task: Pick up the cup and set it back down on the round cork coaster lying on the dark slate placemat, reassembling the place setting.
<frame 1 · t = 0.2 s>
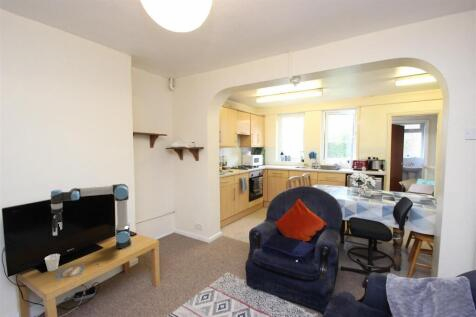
hand: (57, 232, 193), 27 cm above the table, fingers open, 13 cm apart
placemat: (70, 272, 181), on the table
cup: (52, 269, 184), on the table
coaster: (71, 272, 180), resting on placemat
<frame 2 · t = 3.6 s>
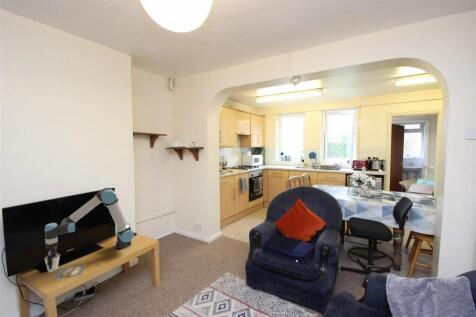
hand: (52, 269, 184), 0 cm above the table, fingers closed on cup, 8 cm apart
cup: (52, 269, 184), on the table, touching gripper
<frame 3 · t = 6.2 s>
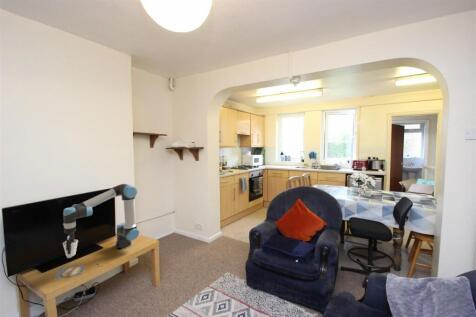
hand: (71, 254, 179), 15 cm above the table, fingers closed on cup, 8 cm apart
cup: (70, 255, 179), point 14 cm above the table, touching gripper
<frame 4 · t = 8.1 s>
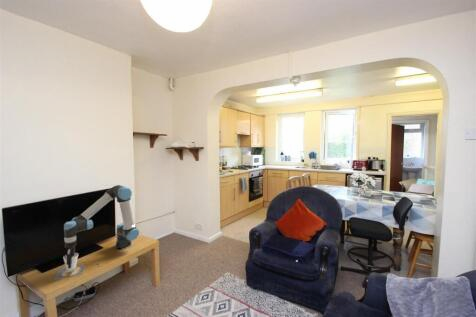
hand: (71, 268, 180), 4 cm above the table, fingers closed on cup, 8 cm apart
cup: (71, 269, 180), point 3 cm above the table, touching gripper
when the fingers open (2 cm above the table, at t = 9.3 s): cup moves 3 cm, point 1 cm above the table.
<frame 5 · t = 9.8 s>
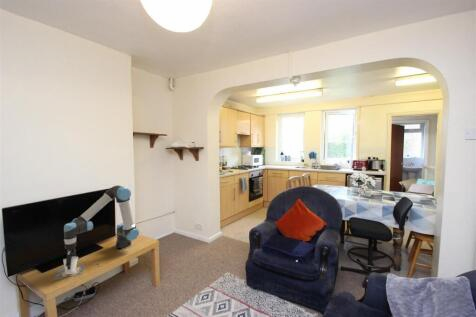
hand: (71, 268, 180), 4 cm above the table, fingers open, 13 cm apart
cup: (70, 273, 177), point 1 cm above the table, touching gripper
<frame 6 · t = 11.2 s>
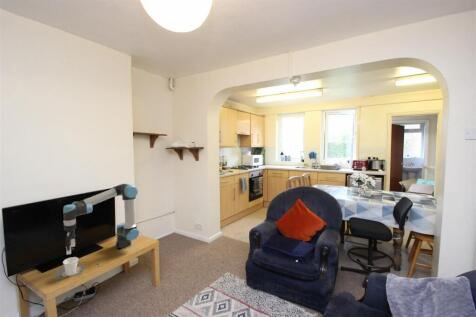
hand: (71, 250, 179), 19 cm above the table, fingers open, 13 cm apart
cup: (70, 273, 177), point 1 cm above the table, touching coaster
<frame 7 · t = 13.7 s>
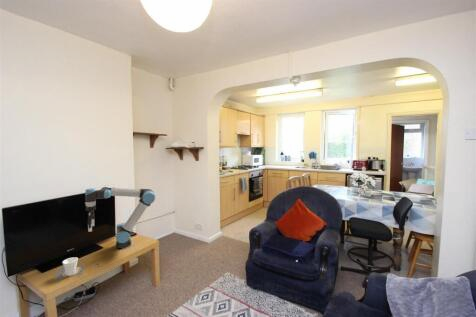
hand: (91, 228, 203), 27 cm above the table, fingers open, 13 cm apart
nothing on the table moved.
at the end: cup 3.6 cm from the coaster (horizontally); cup tilted 0°; the gripper is holding nothing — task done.
